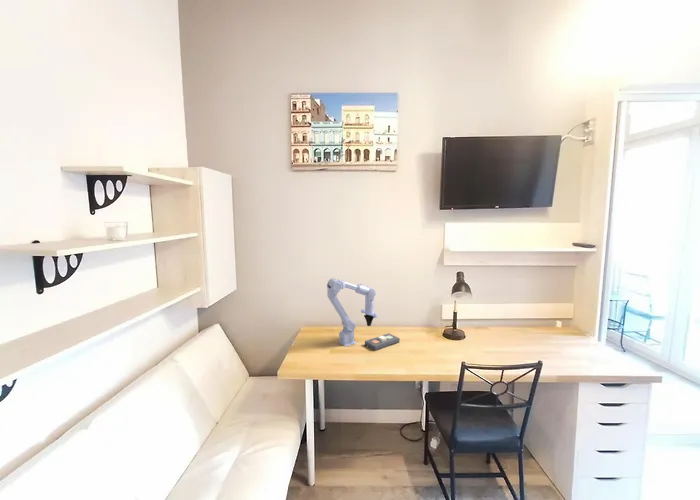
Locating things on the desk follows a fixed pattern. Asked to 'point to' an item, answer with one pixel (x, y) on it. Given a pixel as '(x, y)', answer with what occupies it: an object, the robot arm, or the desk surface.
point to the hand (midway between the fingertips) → (369, 325)
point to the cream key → (382, 338)
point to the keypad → (382, 344)
